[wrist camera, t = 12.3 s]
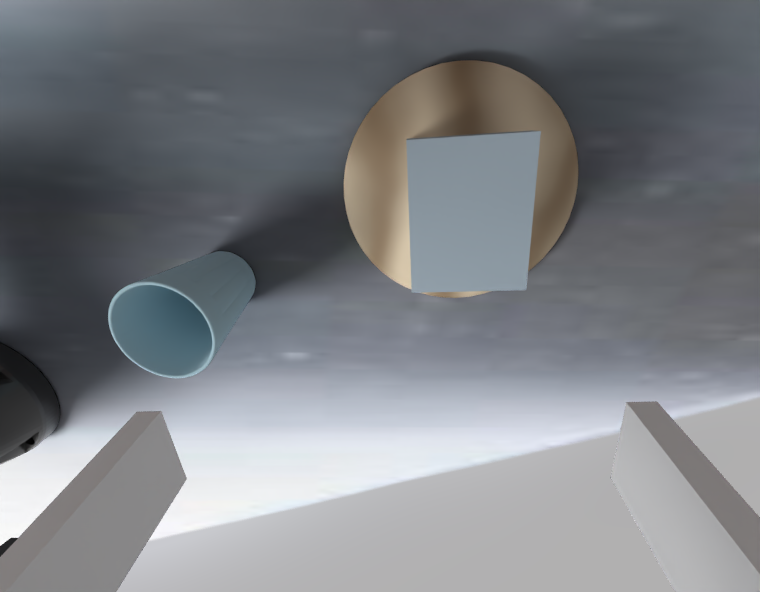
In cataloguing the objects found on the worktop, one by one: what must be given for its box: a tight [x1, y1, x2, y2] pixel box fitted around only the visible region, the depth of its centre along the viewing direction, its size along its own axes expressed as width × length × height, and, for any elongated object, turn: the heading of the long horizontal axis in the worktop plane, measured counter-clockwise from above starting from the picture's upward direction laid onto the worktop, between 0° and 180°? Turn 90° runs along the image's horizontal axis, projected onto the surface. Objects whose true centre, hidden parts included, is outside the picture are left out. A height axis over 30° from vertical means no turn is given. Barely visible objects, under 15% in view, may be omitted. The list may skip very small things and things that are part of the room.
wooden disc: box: [344, 60, 578, 298], centre depth 31 cm, size 18×18×1 cm
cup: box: [108, 251, 256, 378], centre depth 32 cm, size 8×8×10 cm
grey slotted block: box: [406, 130, 541, 293], centre depth 27 cm, size 7×9×9 cm
